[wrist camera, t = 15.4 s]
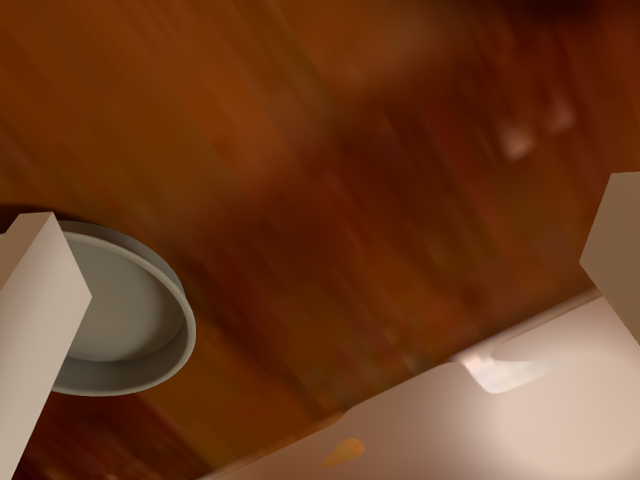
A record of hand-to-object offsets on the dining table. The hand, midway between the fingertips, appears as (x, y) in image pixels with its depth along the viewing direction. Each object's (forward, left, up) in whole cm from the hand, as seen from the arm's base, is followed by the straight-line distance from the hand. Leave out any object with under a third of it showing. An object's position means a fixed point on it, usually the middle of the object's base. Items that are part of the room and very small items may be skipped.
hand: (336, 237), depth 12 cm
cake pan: (+16, +36, -31) cm, 50 cm away
